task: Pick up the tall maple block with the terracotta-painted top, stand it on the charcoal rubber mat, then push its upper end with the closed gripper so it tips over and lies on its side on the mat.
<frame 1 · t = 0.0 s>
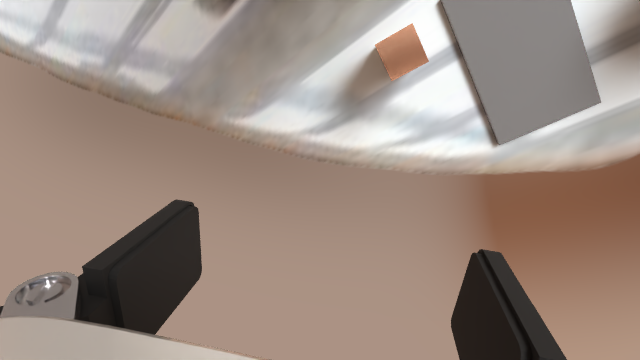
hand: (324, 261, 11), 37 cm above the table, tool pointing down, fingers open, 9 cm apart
maple block: (396, 53, 42), on the table
mat: (519, 51, 40), on the table
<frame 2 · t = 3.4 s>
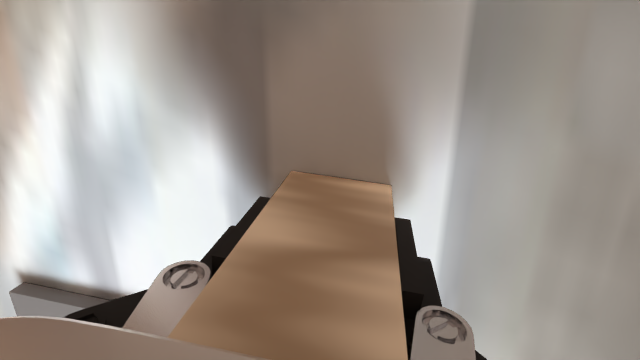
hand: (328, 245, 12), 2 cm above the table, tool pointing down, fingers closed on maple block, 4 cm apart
maple block: (334, 222, 14), on the table, touching gripper
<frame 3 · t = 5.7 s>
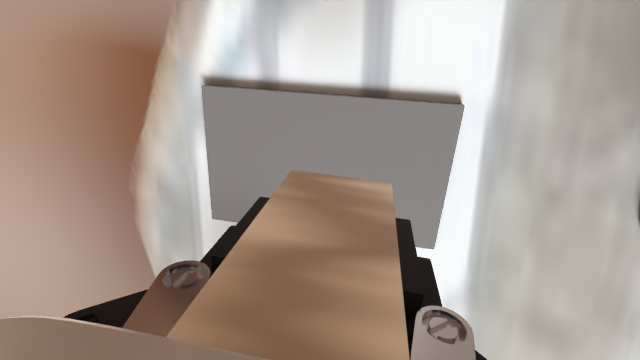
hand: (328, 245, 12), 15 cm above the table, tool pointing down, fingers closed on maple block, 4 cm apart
maple block: (335, 220, 14), point 14 cm above the table, touching gripper
mat: (322, 166, 27), on the table
when the fingers open (4 cm above the table, at t = 8.4 s): maple block drops 1 cm, resting on mat.
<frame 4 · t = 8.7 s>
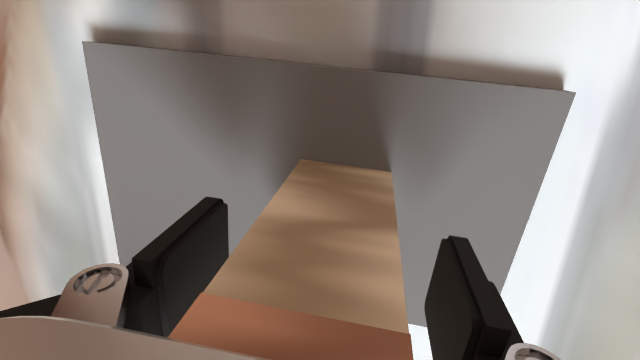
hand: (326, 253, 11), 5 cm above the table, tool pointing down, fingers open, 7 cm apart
maple block: (340, 206, 15), point 1 cm above the table, touching mat
mat: (300, 193, 16), on the table
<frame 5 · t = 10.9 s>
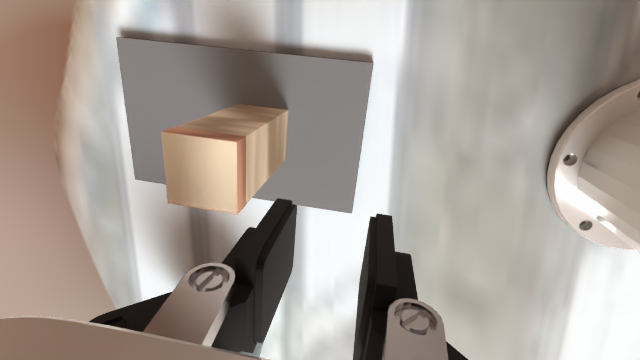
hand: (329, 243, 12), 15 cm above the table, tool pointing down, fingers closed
maple block: (262, 131, 26), point 1 cm above the table, touching mat
mat: (242, 126, 27), on the table
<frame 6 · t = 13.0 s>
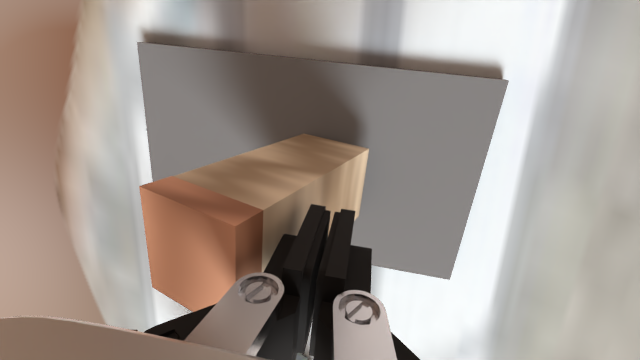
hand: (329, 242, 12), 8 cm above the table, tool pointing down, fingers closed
maple block: (331, 174, 19), point 1 cm above the table, tilted 19°, touching mat
mat: (303, 162, 20), on the table
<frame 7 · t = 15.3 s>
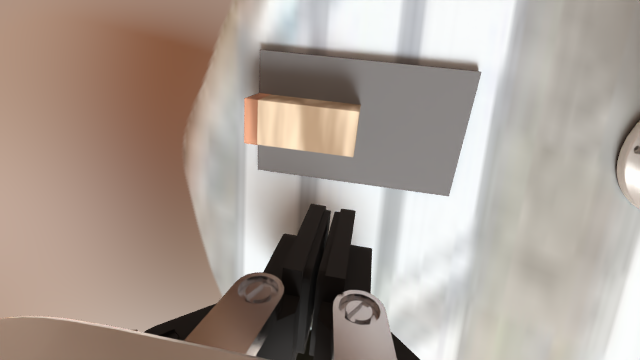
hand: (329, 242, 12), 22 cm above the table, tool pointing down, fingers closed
maple block: (357, 130, 30), point 3 cm above the table, tilted 90°, touching mat
mat: (358, 124, 32), on the table
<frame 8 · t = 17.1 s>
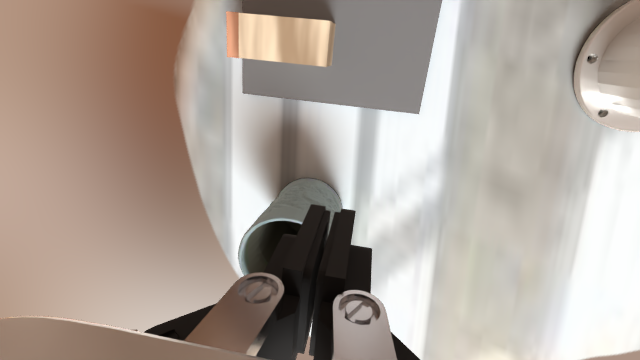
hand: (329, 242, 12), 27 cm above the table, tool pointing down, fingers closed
maple block: (331, 44, 32), point 3 cm above the table, tilted 90°, touching mat
mat: (334, 45, 35), on the table
grey-green cup: (310, 209, 43), on the table
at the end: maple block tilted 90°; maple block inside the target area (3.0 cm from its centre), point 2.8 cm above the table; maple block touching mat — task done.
